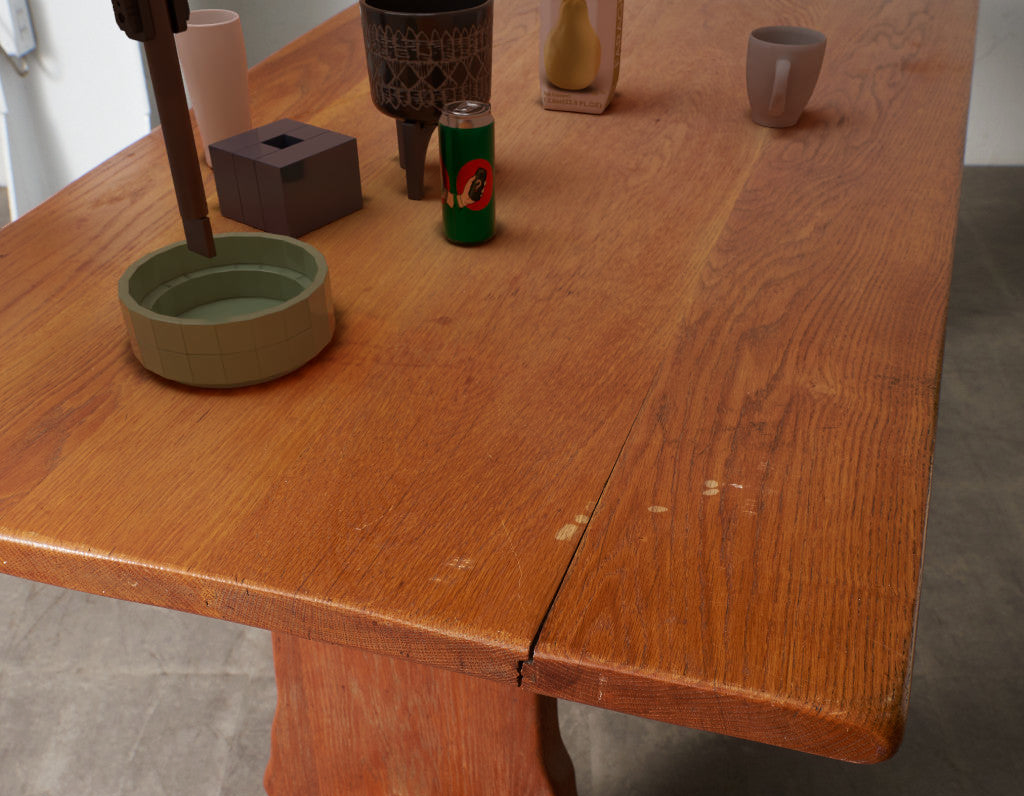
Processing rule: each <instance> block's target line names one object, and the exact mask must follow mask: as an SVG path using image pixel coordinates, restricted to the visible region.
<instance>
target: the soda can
mask: <svg viewBox="0 0 1024 796" xmlns="http://www.w3.org/2000/svg"><path fill="white" fill-rule="evenodd" d="M441 111H442V114H441V115H440V117H439V119H438V127H437V136H438V137H437V138H438V154H439V155H438V158H439V159H438V160H439V176H440V177H439V178H440V179H439V180H440V193H441V194H440V197H441V201H440V202H441V215H442V216H441V218H442V219H441V221H442V233H443V235H444V236H445V238H447V240H448V241H449V242H451V243H452V244H456V245H458V246H459V245H460V246H467V247H469V246H471V247H472V246H478V245H483V244H485V243H487V242H489V241H490V240H491V239H492V238H493V237H494V236H495V235H496V233H497V219H496V218H497V210H496V209H497V207H496V205H497V203H496V201H497V200H496V137H495V136H496V135H495V134H496V133H495V131H496V128H495V126H496V125H495V124H496V123H495V118H494V116H493V115H492V112H491V113H490V107H489V105H487V104H485V103H482V102H478V101H455V102H451V103H448V104H445V105H444V106H443V107H442V109H441Z"/></svg>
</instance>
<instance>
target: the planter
mask: <svg viewBox="0 0 1024 796" xmlns="http://www.w3.org/2000/svg"><path fill="white" fill-rule="evenodd" d="M358 5H359V14H360V21H361V29H362V36H363V37H362V38H363V45H364V52H365V53H364V54H365V60H366V68H367V75H368V82H369V90H370V97H371V102H372V104H373V105H374V107H375V109H376V110H378V111H379V113H381V114H383V115H384V116H386V117H389V118H391V119H395V126H396V127H395V128H396V137H397V148H398V157H399V167H400V168H402V169H403V170H404V169H405V178H406V179H405V181H406V190H407V199H409V200H417V201H420V200H421V199H422V198H424V197H425V166H426V165H425V164H426V158H427V152H428V149H429V144H430V142H431V138H432V135H433V133H434V132H435V130H436V129H437V128H438V119H439V117H440V115H441V114H442V111H441V109H442V107H443V106H444V105H445V104H448V103H451V102H455V101H478V102H482V103H485V104H487V105H489V107H490V113H491V114H492V104H491V102H490V101H491V98H492V79H493V78H492V77H493V73H492V72H493V49H494V47H493V46H494V44H493V43H494V15H495V14H494V13H495V0H358Z"/></svg>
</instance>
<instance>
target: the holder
mask: <svg viewBox="0 0 1024 796" xmlns="http://www.w3.org/2000/svg"><path fill="white" fill-rule="evenodd" d="M208 148H209V153H210V158H211V164H212V168H211V169H212V174H213V179H214V184H215V189H216V194H217V201H218V205H219V211H220V215H221V216H223V217H224V218H228V219H230V220H233V221H236V222H239V223H241V224H245V225H247V226H249V227H253V228H255V229H258V230H260V231H263V232H265V233H271V234H277V235H284V236H288V237H292V238H294V239H297V238H299V237H301V236H304V235H306V234H308V233H310V232H312V231H315V230H317V229H320V228H321V227H323V226H325V225H328V224H330V223H332V222H335V221H337V220H339V219H340V218H344V217H345V216H347V215H349V214H351V213H354V212H356V211H359V210H361V209H363V208H364V199H363V192H362V181H361V171H360V161H359V150H358V139H357V137H354V136H351V135H348V134H344V133H341V132H338V131H333V130H330V129H327V128H323V127H319V126H317V125H313V124H309V123H305V122H302V121H299V120H295V119H291V118H288V117H284V118H281V119H278V120H275V121H273V122H269V123H267V124H266V123H265V124H264V125H261V126H258V127H256V128H252V130H249V131H247V132H244V133H241V134H238V135H235V136H232V137H230V138H227V139H224V140H221V141H218V142H215V143H213V144H210V145H208Z"/></svg>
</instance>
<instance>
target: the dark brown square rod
mask: <svg viewBox="0 0 1024 796" xmlns="http://www.w3.org/2000/svg"><path fill="white" fill-rule="evenodd" d="M148 5H149V9H150V14H151V19H152V24H153V29H154V34H155V37H154V39H153V40H151V41H147V42H142V43H143V48H144V52H145V58H146V62H147V66H148V72H149V76H150V80H151V85H152V90H153V95H154V99H155V104H156V109H157V113H158V118H159V124H160V128H161V133H162V136H163V142H164V146H165V151H166V156H167V160H168V164H169V165H168V166H169V169H170V174H171V179H172V183H173V189H174V193H175V197H176V198H175V199H176V202H177V207H178V211H179V216H180V219H181V222H182V227H183V232H184V236H185V240H186V241H187V246H188V250H189V251H192V252H194V253H197V254H199V255H201V256H204V257H206V258H209V259H211V258H213V257H216V256H217V254H216V249H215V244H214V238H213V234H214V233H213V228H212V224H211V218H210V217H209V214H210V211H209V206H208V201H207V197H206V190H205V186H204V181H203V176H202V170H201V165H200V160H199V155H198V149H197V145H196V139H195V135H194V129H193V124H192V120H191V115H190V109H189V103H188V99H187V98H188V97H187V94H186V89H185V83H184V77H183V72H182V68H181V64H180V60H179V56H178V51H177V46H176V40H175V34H174V32H173V27H172V21H171V16H170V11H169V6H168V1H167V0H148Z"/></svg>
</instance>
